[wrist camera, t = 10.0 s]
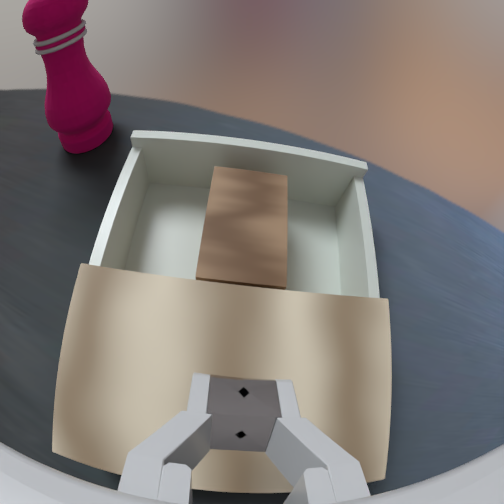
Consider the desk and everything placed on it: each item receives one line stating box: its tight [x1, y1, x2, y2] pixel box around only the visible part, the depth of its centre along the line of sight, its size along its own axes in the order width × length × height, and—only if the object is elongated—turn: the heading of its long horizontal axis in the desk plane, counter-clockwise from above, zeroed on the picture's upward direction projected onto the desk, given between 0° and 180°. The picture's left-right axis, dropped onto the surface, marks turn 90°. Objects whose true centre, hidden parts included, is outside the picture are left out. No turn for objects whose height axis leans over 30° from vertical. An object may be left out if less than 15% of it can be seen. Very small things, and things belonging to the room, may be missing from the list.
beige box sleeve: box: [52, 263, 392, 493], centre depth 16 cm, size 18×11×6 cm, turn 86°
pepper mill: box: [22, 0, 113, 154], centre depth 18 cm, size 7×7×20 cm
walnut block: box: [195, 166, 288, 290], centre depth 20 cm, size 5×5×8 cm
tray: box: [89, 130, 380, 298], centre depth 21 cm, size 18×11×6 cm, turn 86°
